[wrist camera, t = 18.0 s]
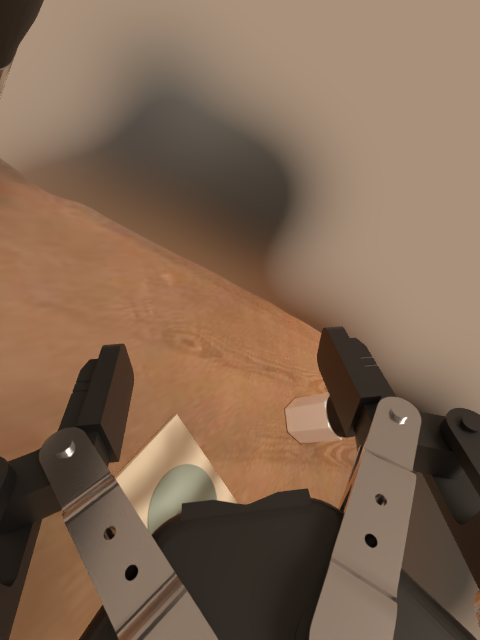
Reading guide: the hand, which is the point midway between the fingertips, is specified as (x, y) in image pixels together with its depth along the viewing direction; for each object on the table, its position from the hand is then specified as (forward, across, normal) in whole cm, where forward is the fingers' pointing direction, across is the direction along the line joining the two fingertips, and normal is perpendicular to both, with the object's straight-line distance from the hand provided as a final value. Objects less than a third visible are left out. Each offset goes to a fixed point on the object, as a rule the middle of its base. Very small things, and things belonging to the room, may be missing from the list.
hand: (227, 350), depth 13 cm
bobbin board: (+8, -7, -37) cm, 39 cm away
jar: (+28, +15, -50) cm, 59 cm away
